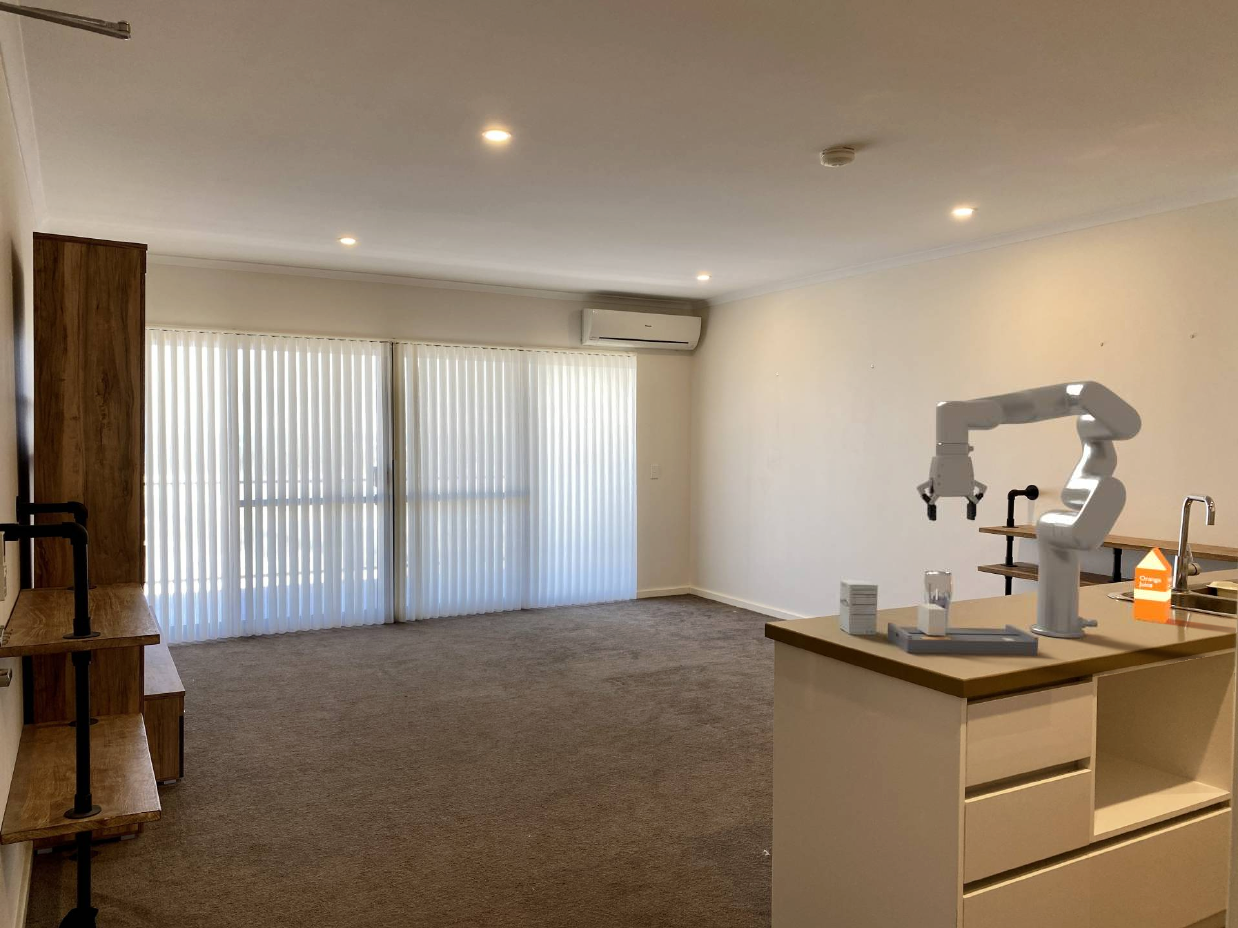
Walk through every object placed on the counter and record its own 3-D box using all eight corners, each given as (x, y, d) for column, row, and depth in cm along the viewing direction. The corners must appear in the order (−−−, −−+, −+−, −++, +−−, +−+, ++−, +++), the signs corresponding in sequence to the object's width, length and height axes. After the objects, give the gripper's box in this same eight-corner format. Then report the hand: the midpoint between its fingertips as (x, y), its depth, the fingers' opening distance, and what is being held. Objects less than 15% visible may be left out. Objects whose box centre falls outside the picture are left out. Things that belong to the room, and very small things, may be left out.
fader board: (1009, 640, 214) (1009, 624, 214) (1037, 654, 200) (1038, 637, 200) (887, 638, 214) (887, 622, 213) (907, 652, 200) (907, 635, 200)
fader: (933, 633, 210) (934, 603, 210) (945, 640, 203) (946, 609, 203) (917, 633, 210) (918, 603, 210) (928, 640, 203) (929, 609, 203)
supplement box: (838, 628, 225) (839, 579, 225) (866, 628, 225) (867, 579, 225) (848, 634, 217) (849, 584, 217) (877, 634, 218) (878, 584, 218)
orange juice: (1132, 619, 245) (1135, 548, 245) (1139, 614, 252) (1141, 545, 252) (1165, 623, 240) (1168, 550, 240) (1170, 618, 247) (1173, 548, 246)
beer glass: (953, 634, 220) (955, 575, 219) (924, 633, 221) (926, 573, 221) (948, 629, 227) (950, 571, 226) (920, 627, 228) (922, 570, 228)
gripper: (979, 450, 220) (979, 518, 221) (911, 451, 220) (911, 519, 220) (993, 451, 213) (993, 521, 213) (923, 451, 212) (923, 522, 213)
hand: (951, 520), depth 217 cm, fingers open, 9 cm apart
